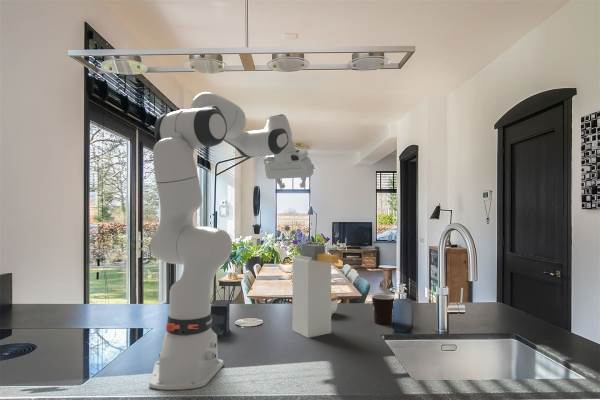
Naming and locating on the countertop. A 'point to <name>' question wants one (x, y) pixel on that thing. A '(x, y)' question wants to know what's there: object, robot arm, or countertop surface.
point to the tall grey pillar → (311, 297)
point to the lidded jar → (334, 303)
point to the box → (220, 317)
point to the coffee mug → (383, 309)
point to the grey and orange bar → (318, 253)
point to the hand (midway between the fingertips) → (292, 187)
